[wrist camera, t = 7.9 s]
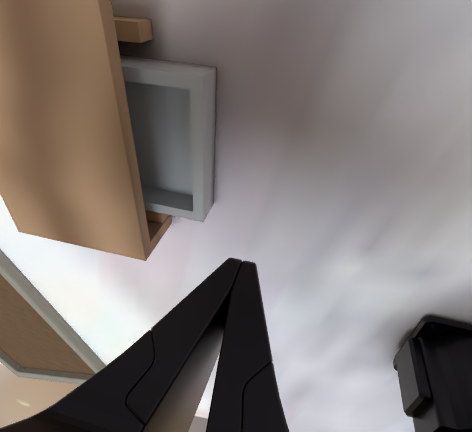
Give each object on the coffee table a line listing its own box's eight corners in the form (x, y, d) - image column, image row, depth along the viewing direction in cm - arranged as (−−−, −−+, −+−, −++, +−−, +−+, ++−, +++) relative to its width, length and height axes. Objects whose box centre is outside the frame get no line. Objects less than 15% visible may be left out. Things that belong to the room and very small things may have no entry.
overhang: (148, -5, 14) (97, -1, 11) (171, 223, 22) (145, 260, 19) (-20, -17, 15) (-103, -17, 13) (59, 200, 23) (18, 231, 20)
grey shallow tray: (216, 67, 15) (202, 77, 13) (213, 203, 20) (203, 222, 18) (36, 44, 17) (5, 50, 15) (74, 175, 22) (53, 190, 20)
